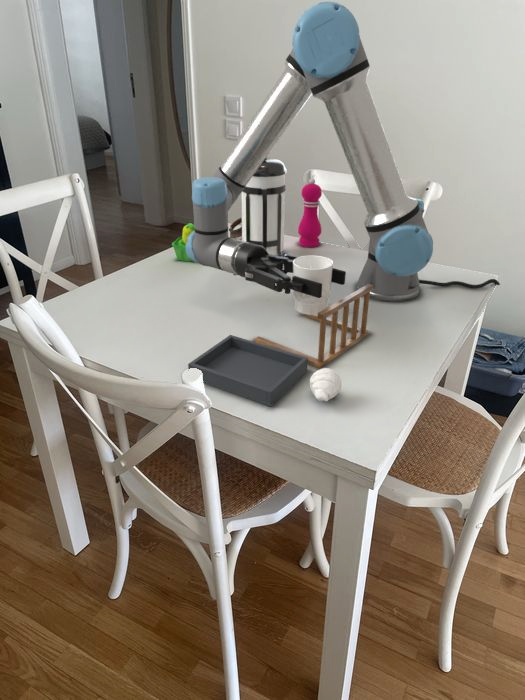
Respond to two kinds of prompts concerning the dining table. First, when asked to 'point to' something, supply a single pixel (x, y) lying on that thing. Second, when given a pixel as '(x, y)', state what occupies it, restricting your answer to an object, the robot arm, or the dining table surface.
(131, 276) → the dining table surface
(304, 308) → the white cup
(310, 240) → the pepper mill
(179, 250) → the fruit basket
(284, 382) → the dark grey tray
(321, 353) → the drying rack
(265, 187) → the coffee press
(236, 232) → the pottery mug
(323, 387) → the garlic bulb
